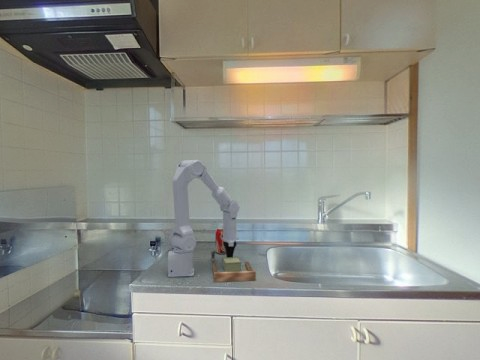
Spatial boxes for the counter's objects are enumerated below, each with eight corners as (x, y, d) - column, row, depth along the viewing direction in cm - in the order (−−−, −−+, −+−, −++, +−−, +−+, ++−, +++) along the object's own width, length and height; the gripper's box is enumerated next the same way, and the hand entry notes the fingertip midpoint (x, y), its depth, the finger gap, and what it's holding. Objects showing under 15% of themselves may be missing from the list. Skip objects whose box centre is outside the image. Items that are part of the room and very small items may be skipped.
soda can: (217, 255, 145) (216, 229, 145) (214, 251, 152) (214, 226, 152) (231, 254, 147) (231, 228, 147) (228, 250, 154) (228, 226, 153)
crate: (225, 273, 121) (225, 263, 121) (222, 267, 128) (222, 257, 128) (241, 272, 123) (241, 262, 123) (237, 266, 130) (237, 256, 130)
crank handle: (215, 263, 133) (215, 256, 133) (211, 263, 133) (211, 256, 133) (214, 257, 141) (214, 251, 141) (211, 257, 141) (211, 251, 141)
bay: (214, 282, 112) (214, 273, 112) (212, 266, 129) (212, 259, 129) (255, 280, 114) (255, 272, 113) (248, 265, 131) (248, 258, 131)
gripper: (240, 230, 128) (240, 263, 128) (237, 224, 142) (237, 253, 143) (223, 231, 127) (223, 264, 127) (221, 224, 141) (221, 254, 142)
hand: (229, 258), depth 135 cm, fingers closed
